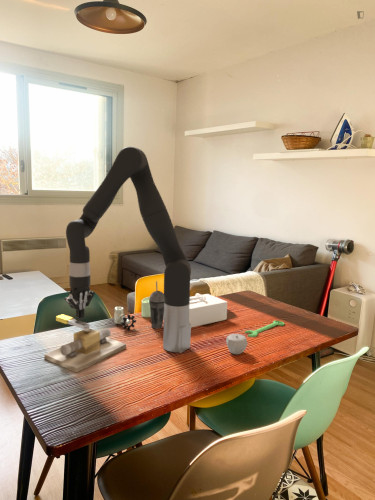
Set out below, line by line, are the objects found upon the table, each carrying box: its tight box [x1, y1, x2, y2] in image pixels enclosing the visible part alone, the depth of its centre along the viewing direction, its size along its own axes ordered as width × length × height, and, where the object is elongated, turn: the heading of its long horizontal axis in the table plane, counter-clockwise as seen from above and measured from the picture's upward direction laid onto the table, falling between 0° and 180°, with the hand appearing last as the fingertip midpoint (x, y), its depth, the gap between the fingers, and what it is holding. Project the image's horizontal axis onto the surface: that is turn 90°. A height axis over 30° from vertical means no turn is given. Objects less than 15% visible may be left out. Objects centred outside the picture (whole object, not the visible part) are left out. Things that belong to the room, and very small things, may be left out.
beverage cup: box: [149, 280, 164, 330], centre depth 157 cm, size 7×7×20 cm
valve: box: [113, 306, 137, 331], centre depth 158 cm, size 7×7×12 cm
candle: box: [141, 296, 151, 318], centre depth 171 cm, size 5×5×8 cm
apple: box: [225, 333, 248, 355], centre depth 136 cm, size 8×8×7 cm
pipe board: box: [43, 327, 127, 373], centre depth 131 cm, size 16×23×8 cm
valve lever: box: [55, 314, 90, 333], centre depth 134 cm, size 15×3×3 cm, turn 57°
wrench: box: [244, 320, 285, 338], centre depth 161 cm, size 25×2×5 cm
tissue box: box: [163, 292, 228, 328], centre depth 169 cm, size 14×25×11 cm, turn 125°
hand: (80, 318), depth 141 cm, fingers closed
